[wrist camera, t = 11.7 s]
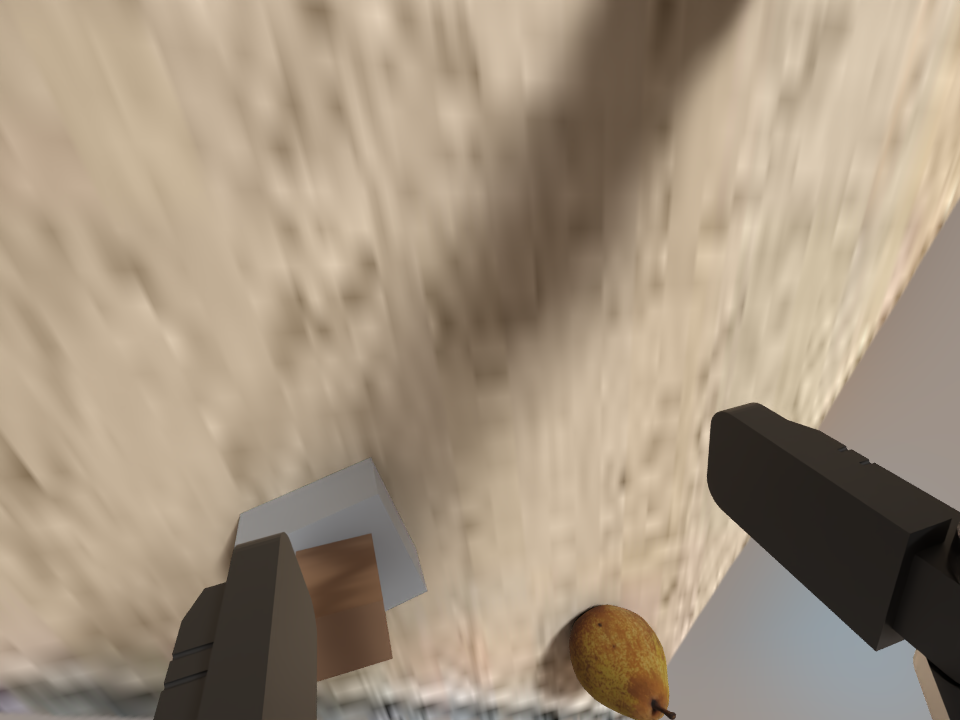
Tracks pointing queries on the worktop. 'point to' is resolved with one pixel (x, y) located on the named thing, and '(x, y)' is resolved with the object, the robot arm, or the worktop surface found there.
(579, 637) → the fruit
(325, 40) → the worktop surface
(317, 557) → the walnut block
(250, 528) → the base block
